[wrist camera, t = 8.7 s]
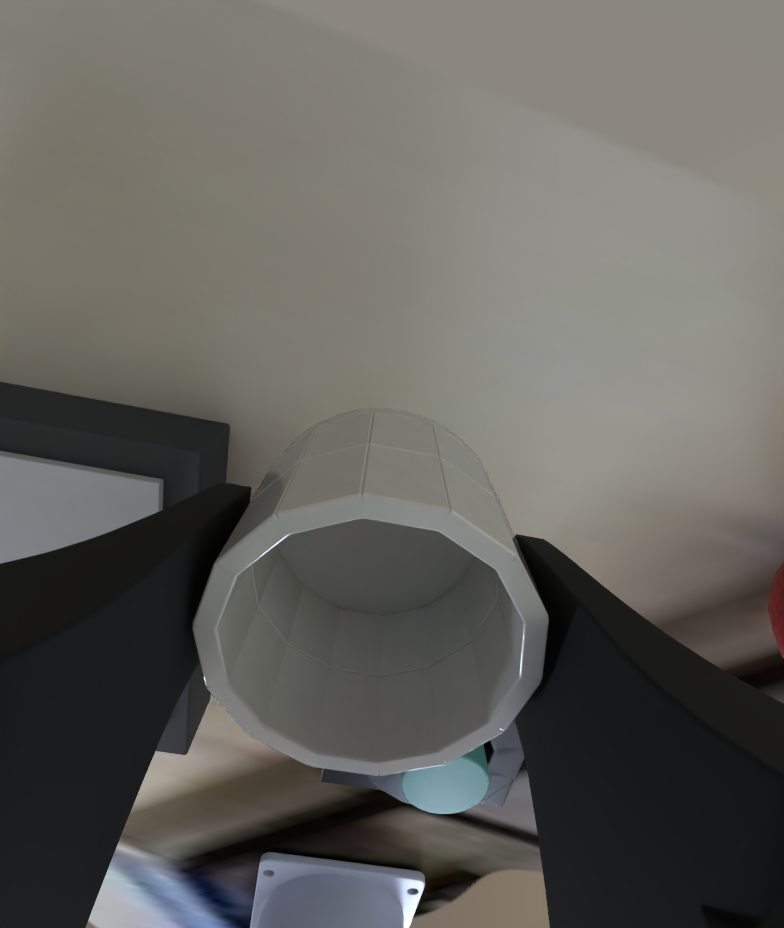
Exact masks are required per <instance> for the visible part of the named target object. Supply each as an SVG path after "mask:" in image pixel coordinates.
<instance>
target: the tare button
mask: <svg viewBox="0 0 784 928" xmlns="http://www.w3.org/2000/svg"><path fill="white" fill-rule="evenodd" d="M489 785H490V778H489V772H488V767H487V761H486V755H485V750H484V744H482V745H481V746H479V747H477V748H475V749H473V750H472V751H470V752H468V753H466V754H465V755H463V756H461V757H459V758H457V759H456V760H454V761H452V762H450V763H448V764H447V763H446V764H445V765H441V766H435V767H430V768H424V769H418V770H412V771H406V772H401V789H402V792H403V794H404V796H405V797H406V799H407V800H408V801H409V802H410V803H411V804H413V805H414V806H416V807H417V808H419V809H422V810H424V811H427V812H431V813H438V814H451V813H457V812H461V811H465V810H467V809H470V808H472V807H473V806H475V805H477V804H478V803H479V802H480V801H481V800H482V799H483V798H484V797H485V796H486V794H487V792H488V789H489Z"/></svg>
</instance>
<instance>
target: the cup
mask: <svg viewBox="0 0 784 928" xmlns="http://www.w3.org/2000/svg"><path fill="white" fill-rule="evenodd" d="M548 625H549V618H548V613H547V611H546V608H545V606H544V604H543V601H542V599H541V597H540V594H539V592H538V590H537V587H536V585H535V582H534V580H533V578H532V575H531V573H530V571H529V568H528V566H527V564H526V561H525V559H524V556H523V554H522V552H521V549H520V547H519V545H518V542H517V540H516V538H515V535H514V533H513V530H512V528H511V526H510V523H509V521H508V519H507V516H506V514H505V512H504V509H503V507H502V504H501V502H500V500H499V498H498V496H497V494H496V492H495V490H494V488H493V486H492V484H491V482H490V479H489V477H488V474H487V472H486V471H485V469H484V467H483V465H482V463H481V461H480V459H479V458H478V457H477V455H476V454H475V453H474V452H473V451H472V449H471V448H470V447H469V446H468V445H467V444H466V443H465V442H464V441H463V440H462V439H461V438H459V437H458V436H457V435H455V434H454V433H453V432H451V431H450V430H449V429H447V428H445V427H444V426H442V425H440V424H438V423H437V422H435V421H433V420H430V419H428V418H425V417H423V416H420V415H417V414H413V413H409V412H405V411H400V410H392V409H364V410H356V411H351V412H347V413H343V414H339V415H336V416H334V417H331V418H329V419H326V420H324V421H322V422H320V423H318V424H317V425H315V426H313V427H311V428H310V429H308V430H307V431H306V432H304V433H303V434H302V435H300V436H299V437H298V438H297V439H296V440H295V441H294V442H293V443H292V444H291V445H290V446H289V447H288V448H287V449H286V450H285V452H284V453H283V454H282V455H281V456H280V457H279V458H278V459H277V460H275V462H274V463H273V465H272V466H271V468H270V470H269V471H268V473H267V475H266V476H265V478H264V480H263V481H262V483H261V485H260V486H259V488H258V490H257V492H256V493H255V495H254V497H253V498H252V500H251V502H250V503H249V505H248V507H247V508H246V510H245V512H244V513H243V515H242V517H241V518H240V520H239V522H238V523H237V525H236V527H235V528H234V530H233V532H232V533H231V535H230V537H229V538H228V540H227V542H226V543H225V545H224V547H223V549H222V550H221V552H220V554H219V555H218V557H217V559H216V560H215V562H214V564H213V566H212V569H211V572H210V574H209V577H208V580H207V583H206V586H205V588H204V591H203V594H202V597H201V599H200V602H199V605H198V608H197V610H196V613H195V616H194V619H193V622H192V630H193V634H194V638H195V643H196V647H197V651H198V656H199V660H200V664H201V669H202V673H203V677H204V682H205V685H206V686H207V689H208V690H209V691H210V693H211V694H212V695H213V696H214V697H215V698H216V699H217V701H218V702H219V703H220V704H221V705H222V706H223V707H224V709H225V710H226V711H227V712H228V713H229V714H230V715H231V717H232V718H233V719H234V720H235V721H236V722H237V723H238V725H239V726H240V727H241V728H242V729H243V730H244V731H245V733H246V734H248V735H250V737H252V738H254V739H256V740H258V741H260V742H262V743H264V744H266V745H268V746H270V747H272V748H274V749H275V750H277V751H279V752H281V753H283V754H285V755H287V756H289V757H291V758H293V759H295V760H297V761H299V762H301V763H303V764H305V765H308V766H309V765H310V766H311V767H317V768H324V769H331V770H338V771H345V772H352V773H359V774H366V775H373V776H378V775H379V776H383V775H389V774H395V773H400V772H406V771H412V770H418V769H424V768H430V767H435V766H441V765H445V764H446V763H447V764H448V763H450V762H452V761H454V760H456V759H457V758H459V757H461V756H463V755H465V754H466V753H468V752H470V751H472V750H473V749H475V748H477V747H479V746H481V745H482V744H484V743H486V742H488V741H489V740H491V739H493V738H495V737H497V736H498V735H500V734H502V733H503V732H504V731H505V730H507V728H508V727H509V725H510V724H511V723H512V721H513V720H514V719H515V717H516V716H517V715H518V713H519V712H520V711H521V709H522V708H523V707H524V705H525V704H526V702H527V701H528V700H529V698H530V697H531V696H532V694H533V693H534V692H535V690H536V689H537V688H538V686H539V685H540V684H541V680H542V679H543V671H544V662H545V652H546V643H547V634H548Z"/></svg>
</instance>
